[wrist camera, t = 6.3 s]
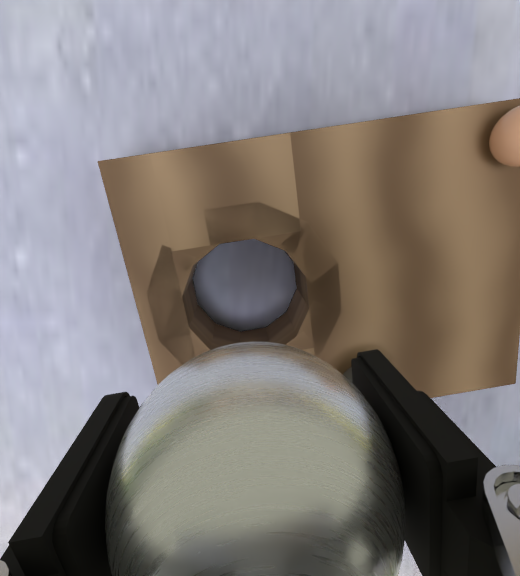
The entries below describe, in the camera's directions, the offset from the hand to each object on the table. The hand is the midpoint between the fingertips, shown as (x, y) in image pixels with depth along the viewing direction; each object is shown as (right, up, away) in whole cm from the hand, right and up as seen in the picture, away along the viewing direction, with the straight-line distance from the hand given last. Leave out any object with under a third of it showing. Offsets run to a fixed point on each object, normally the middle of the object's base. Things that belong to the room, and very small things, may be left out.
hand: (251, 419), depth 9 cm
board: (+5, +5, +15) cm, 16 cm away
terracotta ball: (+14, +12, +7) cm, 20 cm away
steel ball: (0, 0, -2) cm, 2 cm away
